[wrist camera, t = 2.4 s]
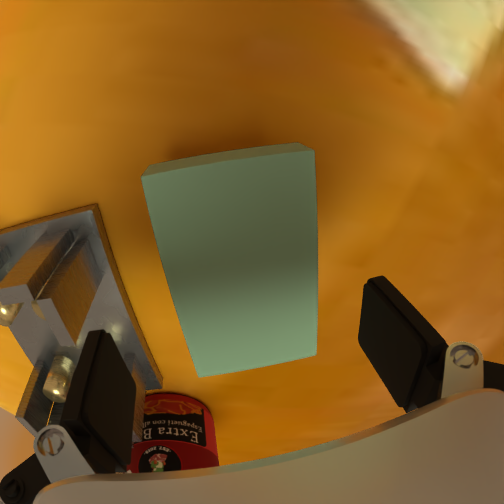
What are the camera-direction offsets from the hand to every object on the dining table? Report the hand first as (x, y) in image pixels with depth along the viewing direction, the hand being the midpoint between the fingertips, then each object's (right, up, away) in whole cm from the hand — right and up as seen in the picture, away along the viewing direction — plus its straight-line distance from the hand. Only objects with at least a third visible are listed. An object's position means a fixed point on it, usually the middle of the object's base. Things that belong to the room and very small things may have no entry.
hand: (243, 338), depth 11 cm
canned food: (-7, -11, +14) cm, 19 cm away
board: (0, +3, +3) cm, 4 cm away
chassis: (-12, -1, +7) cm, 14 cm away
